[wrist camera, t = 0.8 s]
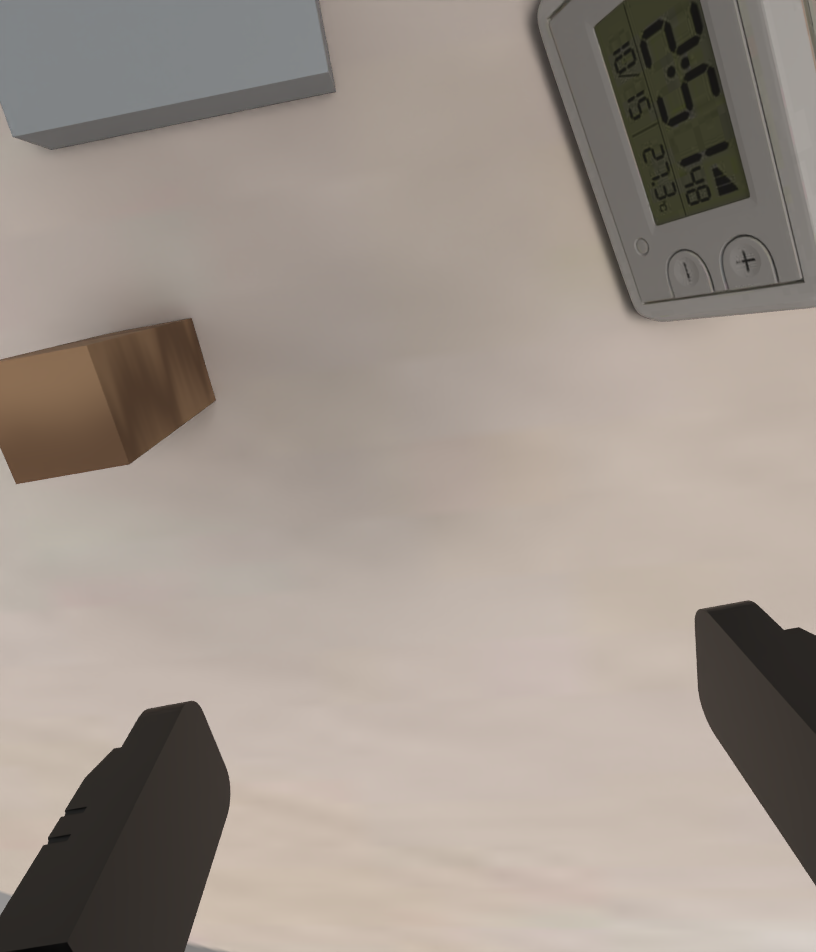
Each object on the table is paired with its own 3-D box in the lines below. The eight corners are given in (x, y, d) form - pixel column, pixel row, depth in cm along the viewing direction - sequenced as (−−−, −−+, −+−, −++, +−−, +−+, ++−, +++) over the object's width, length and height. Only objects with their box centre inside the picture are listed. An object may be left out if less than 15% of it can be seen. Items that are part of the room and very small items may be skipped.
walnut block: (109, 333, 31) (-35, 367, 21) (191, 317, 31) (86, 345, 21) (137, 414, 33) (16, 484, 22) (215, 400, 32) (129, 464, 22)
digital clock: (523, -19, 26) (601, -194, 16) (727, -82, 26) (937, -304, 16) (579, 338, 32) (662, 372, 22) (748, 294, 31) (914, 308, 21)
